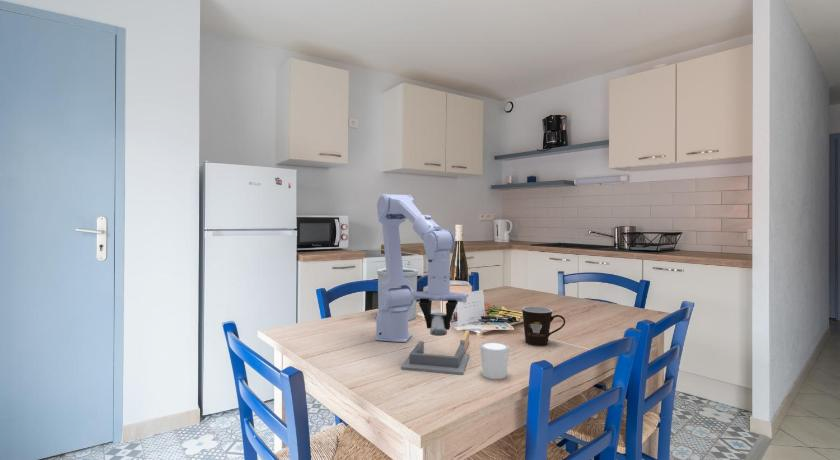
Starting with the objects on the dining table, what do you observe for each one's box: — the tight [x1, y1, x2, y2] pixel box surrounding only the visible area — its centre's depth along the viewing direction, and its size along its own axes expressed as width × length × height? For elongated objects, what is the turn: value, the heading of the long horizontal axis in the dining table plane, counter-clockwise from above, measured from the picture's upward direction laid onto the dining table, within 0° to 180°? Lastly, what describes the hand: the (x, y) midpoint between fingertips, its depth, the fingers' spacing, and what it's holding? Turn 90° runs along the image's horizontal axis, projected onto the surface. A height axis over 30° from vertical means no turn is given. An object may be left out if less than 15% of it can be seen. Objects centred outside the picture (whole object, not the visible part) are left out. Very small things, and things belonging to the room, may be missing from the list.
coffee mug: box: [521, 305, 566, 347], centre depth 129 cm, size 12×9×10 cm
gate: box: [459, 329, 470, 354], centre depth 124 cm, size 12×1×4 cm, turn 167°
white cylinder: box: [480, 341, 510, 380], centre depth 104 cm, size 7×7×7 cm
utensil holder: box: [376, 267, 419, 321], centre depth 160 cm, size 15×15×18 cm
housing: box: [400, 340, 471, 375], centre depth 113 cm, size 15×14×3 cm
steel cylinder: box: [429, 312, 448, 337], centre depth 114 cm, size 4×4×5 cm
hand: (438, 328), depth 114 cm, fingers closed on steel cylinder, 4 cm apart
